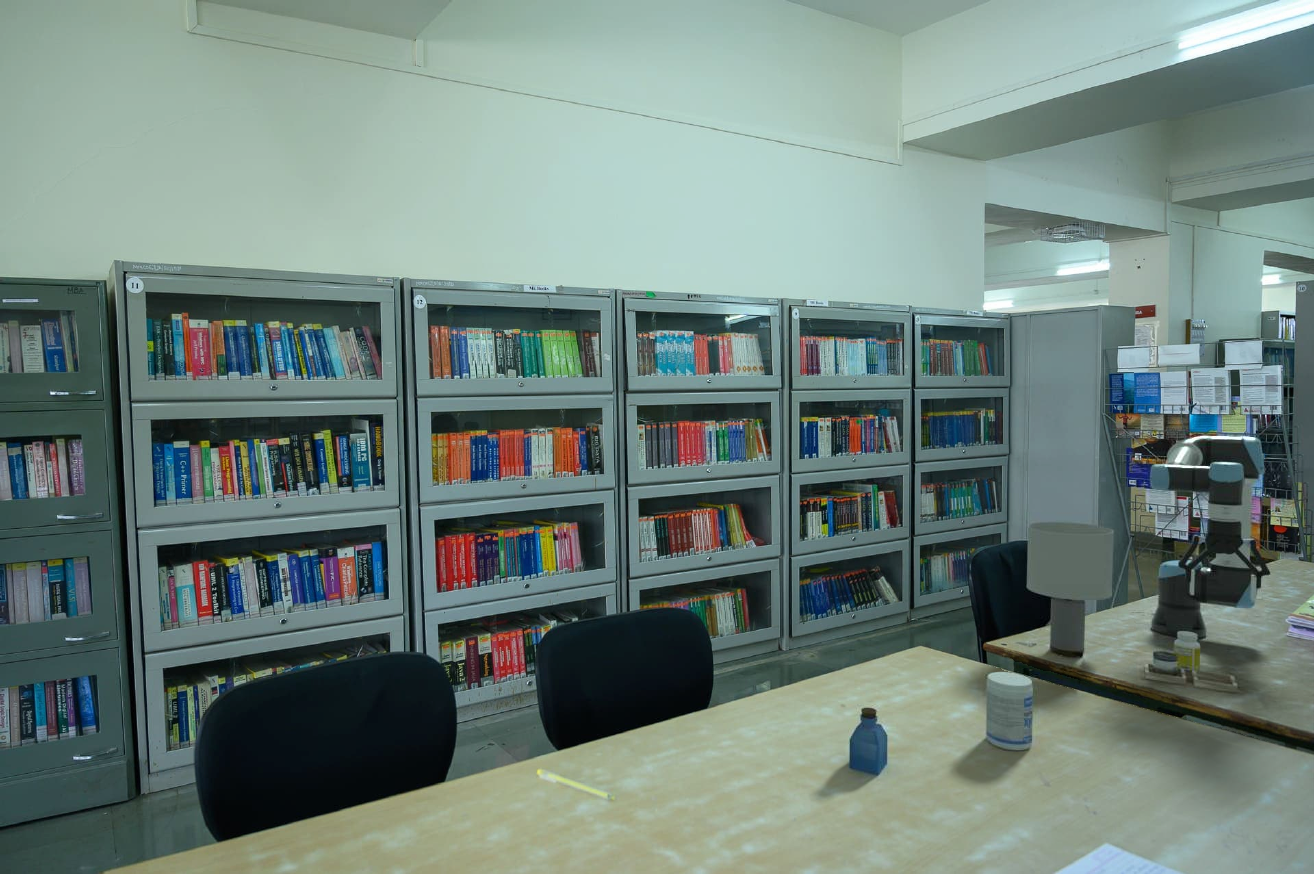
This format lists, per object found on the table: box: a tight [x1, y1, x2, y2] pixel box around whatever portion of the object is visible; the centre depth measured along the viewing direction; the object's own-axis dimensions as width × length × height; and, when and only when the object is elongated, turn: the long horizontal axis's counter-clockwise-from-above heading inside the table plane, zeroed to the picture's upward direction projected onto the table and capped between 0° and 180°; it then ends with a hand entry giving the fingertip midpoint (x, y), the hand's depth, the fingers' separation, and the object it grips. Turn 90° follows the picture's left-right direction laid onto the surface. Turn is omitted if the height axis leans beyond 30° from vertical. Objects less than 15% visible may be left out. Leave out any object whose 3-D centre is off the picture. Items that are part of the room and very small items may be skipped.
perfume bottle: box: [848, 707, 888, 777], centre depth 166 cm, size 6×6×12 cm
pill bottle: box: [1173, 631, 1201, 673], centre depth 221 cm, size 6×6×11 cm
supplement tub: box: [985, 671, 1034, 751], centre depth 177 cm, size 10×10×15 cm
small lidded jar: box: [1152, 650, 1178, 676], centre depth 214 cm, size 6×6×6 cm
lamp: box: [1026, 521, 1115, 658], centre depth 237 cm, size 23×23×38 cm
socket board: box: [1140, 662, 1243, 695], centre depth 212 cm, size 11×22×3 cm, turn 59°
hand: (1221, 597), depth 214 cm, fingers open, 13 cm apart
